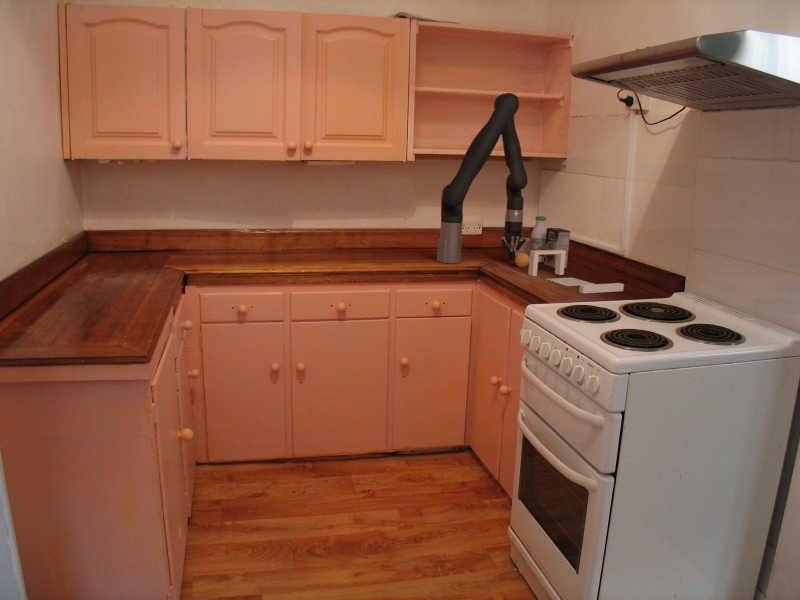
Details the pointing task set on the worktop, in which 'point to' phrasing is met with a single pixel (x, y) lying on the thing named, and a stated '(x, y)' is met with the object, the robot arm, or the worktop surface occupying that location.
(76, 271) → the worktop surface
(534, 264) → the bridge
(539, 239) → the milk bottle
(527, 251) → the paper bowls
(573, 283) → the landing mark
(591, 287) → the stopper strip
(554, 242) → the coffee box
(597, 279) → the worktop surface
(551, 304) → the worktop surface
